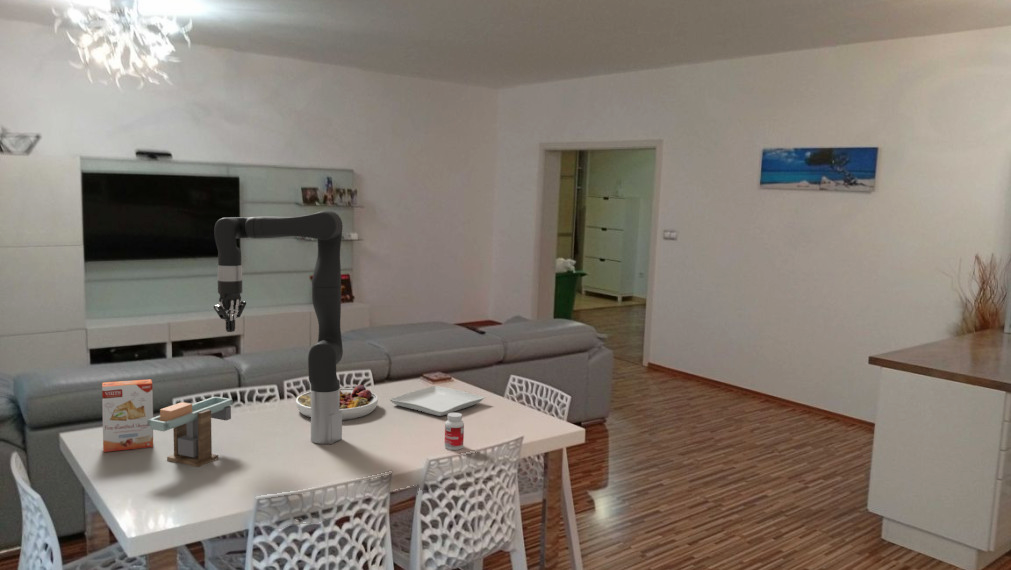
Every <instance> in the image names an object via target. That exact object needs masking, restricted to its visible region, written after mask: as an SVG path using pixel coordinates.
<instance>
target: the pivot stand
mask: <svg viewBox="0 0 1011 570" xmlns="http://www.w3.org/2000/svg"><path fill="white" fill-rule="evenodd" d="M172 429H173V454H171V455H169V456H167V457H166V459H167V461H168V460H169V462H175V463H177V464H178V463H179V464H184V465H187V466H191V467H192V466H193V467H198V468H199V467H201V466H203V465H206V464H208V463H210V462H211V463H212V462H213V461H216V460H218V459H219V455H218V454H213V452H212V451H213V447H212V439H213V438H212V418H211V410H205V411H202V412H199V413H198V456H196V457H189V456H184V455H179V454H178V438H179V437H182V436H184V435H187V428H186V424H183V425H180V426H177V427H175V428H172ZM215 459H216V460H215Z"/></svg>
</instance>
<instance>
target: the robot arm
mask: <svg viewBox="0 0 1011 570" xmlns="http://www.w3.org/2000/svg"><path fill="white" fill-rule="evenodd" d="M213 231H214V232H213V233H214V236H213V237H214V240H215V246H216V248H217V252H218V253H217V254H218V255H217V262H218V266H217V267H218V268H217V293H218V294H219V298H218V303H217V304H214V305H213V309H214V311H215V312H216V314H217V315H218V317H219V318H220V319H221V320H224V321H225V331H226V332H227V333H232V332H235V331H236V320H237V319H238V318H240V317H241V315H242V314H243V311H244V310H245V307H246V306H247V302H246V301H243V299H242V296H241V294H242V293H243V268H242V267H243V266H242V251H241V248H240V247H238V245H237V239H249V238H250V239H274V238H275V239H277V238H288V237H295V238H296V237H300V238H301V237H302V238H310V239H316V240H317V257H316V262H315V266H314V270H313V274H312V281H311V300H312V305H313V309H314V313H315V314H316V315H315V316H316V318H317V322H318V338H317V343H314V345H312V346H311V347H310V350H309V352H308V355H307V356H308V357H307V358H308V359H307V362H308V367H307V368H308V369H307V370H308V371H307V372H308V380H309V381H308V382H309V383H310V392H311V418H310V441H311V443H314V444H319V445H321V444H324V445H326V444H327V445H333V444H334V443H336V442H338V441H340V440H342V439H343V420H342V411H340V388H341V385H340V384H341V381H340V380H339V379H338V376H337V364H339V363H340V361H341V360H342V358H343V351H344V349H343V341H342V340H343V339H342V332H341V330H342V329H341V316H342V315H341V313H342V311H341V310H342V276H341V275H342V274H341V271H342V269H341V245H342V238H343V220H342V218H341V217H340V215H339V214H337V212H334V211H332V210H323V211H318V212H316V213H310V214H306V215H299V216H276V215H273V216H269V215H267V216H264V215H263V216H250V217H246V216H245V217H242V216H241V217H238V216H237V217H236V216H233V217H232V216H231V217H222V218H219V219H218V220H217V221H216V222H215V225H214V229H213Z"/></svg>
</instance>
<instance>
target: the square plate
mask: <svg viewBox="0 0 1011 570" xmlns="http://www.w3.org/2000/svg"><path fill="white" fill-rule="evenodd" d="M484 399H486V397H485V396H482V395H479V394H474V393H472V392H467V391H465V390H464V391H463V390H460V389H459V390H458V389H456V388H449V387H444V386H439V385H431V386H428V387H425V388H420V389H417V390H413V391H410V392H406V393H403V394H400V395H397V396H395V397H392V398H389V401H390V402H391V403H392V404H394V405H396V406H399V407H402V408H406V409H411V410H413V409H414V411H417V410H418V411H417V412H421V411H422V413H426V414H430V415H433V416H434V415H435V416H436V417H437V416H439V417H443V416H445V415H446V416H447V415H448V414H449V413H456V412H458V411H460V410H463V409H465V408H469V407H472V406H474V405H477V404H479V403H481V402H482V401H483V400H484Z"/></svg>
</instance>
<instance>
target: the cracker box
mask: <svg viewBox="0 0 1011 570" xmlns="http://www.w3.org/2000/svg"><path fill="white" fill-rule="evenodd" d="M101 384H102V385H101V393H102V394H101V395H102V397H101V398H102V399H101V400H102V404H101V405H102V406H101V407H102V449H103V451H102V452H103V453H107V452H116V451H129V450H136V449H146V448H154V430H153V429H151V427H150V425H148V419H151V418H154V404H153V403H154V402H153V401H154V400H153V399H154V398H153V396H154V395H153V393H154V392H153V388H154V387H153V380H152V379H150V378H149V379H138V380H137V379H136V380H135V379H134V380H133V379H132V380H121V381H119V380H118V381H106V382H102V383H101Z"/></svg>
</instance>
